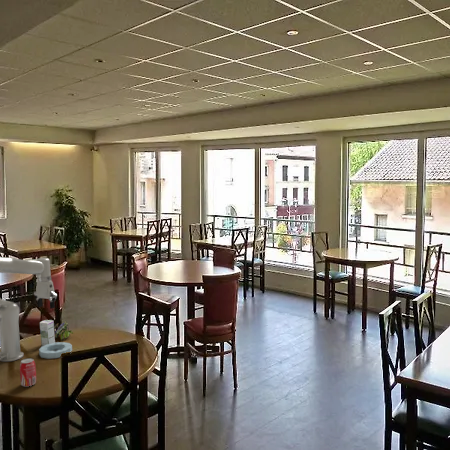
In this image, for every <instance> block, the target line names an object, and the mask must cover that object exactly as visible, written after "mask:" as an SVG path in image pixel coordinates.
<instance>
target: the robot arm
mask: <svg viewBox="0 0 450 450" xmlns="http://www.w3.org/2000/svg"><path fill="white" fill-rule="evenodd" d="M0 274H19V275H20V274H22V275H23V274H25V275H36V277H37V278H36V280H37V282H36V291H33V295H34V298H35V300H36V301H37V308H40V307H43V306H44V305H43V299H48V301H49V309H51V310H52V309H54V308H56V304H55V302H56V300H57V298H58V294H57V293H56V292H55V287H54V282H53V280H52V276H51V274H52V272H51V260H50V258H48V257H40V258H37V259H20V258H14V257H9V256H8V257H7V256H5V257H4V256H3V257H2V256H0ZM19 317H20V308H19V306H18V304H16V303H15V302H14V301H9V300H4V299H2V298H1V297H0V349H1V351H0V362H4V363H5V362H7V363H8V362H15V361H17V360H20V359H22V358H23V357H24V354H25V353H24V352H23V351H21V341H20V340H21V339H20V327H19Z"/></svg>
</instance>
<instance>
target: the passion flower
mask: <svg viewBox="0 0 450 450" xmlns="http://www.w3.org/2000/svg"><path fill="white" fill-rule="evenodd" d="M56 328H57V329H56ZM55 329H56V330H55ZM54 330H55V331H54V336H55V339H56V338H59V336H60V340H61V341H63V340H66V339H67V338H69V337H71V334H72V335H73V334H74V332H73V329H71V330H69V323H68V322H67V321H65V322H62V323H61V324H60V325H59V323H56V324H55V325H54Z"/></svg>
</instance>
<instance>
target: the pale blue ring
mask: <svg viewBox="0 0 450 450" xmlns="http://www.w3.org/2000/svg"><path fill="white" fill-rule="evenodd" d="M71 351H73V345H72V344H71V343H70V342H64V341H63V342H59V341H57V342H55V343H51V344H47V345H45V346H41V347H40V348H39V349H38V353H39V354H38V355H39V357H40V358H42V359H43V358H44V359H48V360H49V359H58V358H61V357H60V356H61V354H62V353H66V352H71ZM71 353H72V352H71Z"/></svg>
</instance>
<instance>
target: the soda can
mask: <svg viewBox="0 0 450 450" xmlns="http://www.w3.org/2000/svg"><path fill="white" fill-rule="evenodd" d="M36 367H37V366H36V362H35V360H34V358H31V357H30V358H23V359H22V360H20V363H19V379H20V385H21V386H22V387H24V388H29V386H30V387H33V386H34V385H35V384H36V383H37V368H36ZM32 385H33V386H32Z"/></svg>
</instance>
